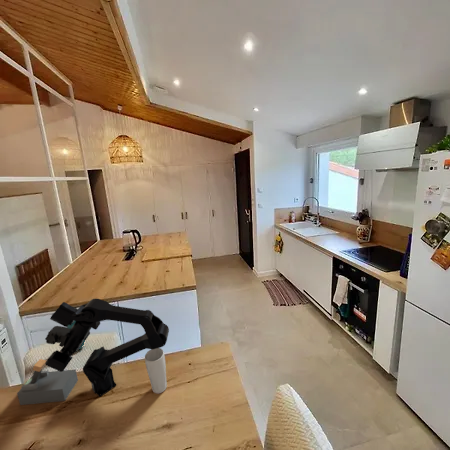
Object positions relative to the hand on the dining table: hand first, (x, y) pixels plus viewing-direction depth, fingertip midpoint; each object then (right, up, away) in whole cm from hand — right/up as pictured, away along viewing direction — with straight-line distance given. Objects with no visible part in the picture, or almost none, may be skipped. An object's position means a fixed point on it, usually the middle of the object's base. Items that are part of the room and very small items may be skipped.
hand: (59, 363), depth 91 cm
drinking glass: (+36, -10, +2) cm, 38 cm away
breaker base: (-5, -12, +2) cm, 13 cm away
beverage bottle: (-8, -7, +26) cm, 28 cm away
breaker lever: (-9, -6, +1) cm, 11 cm away
